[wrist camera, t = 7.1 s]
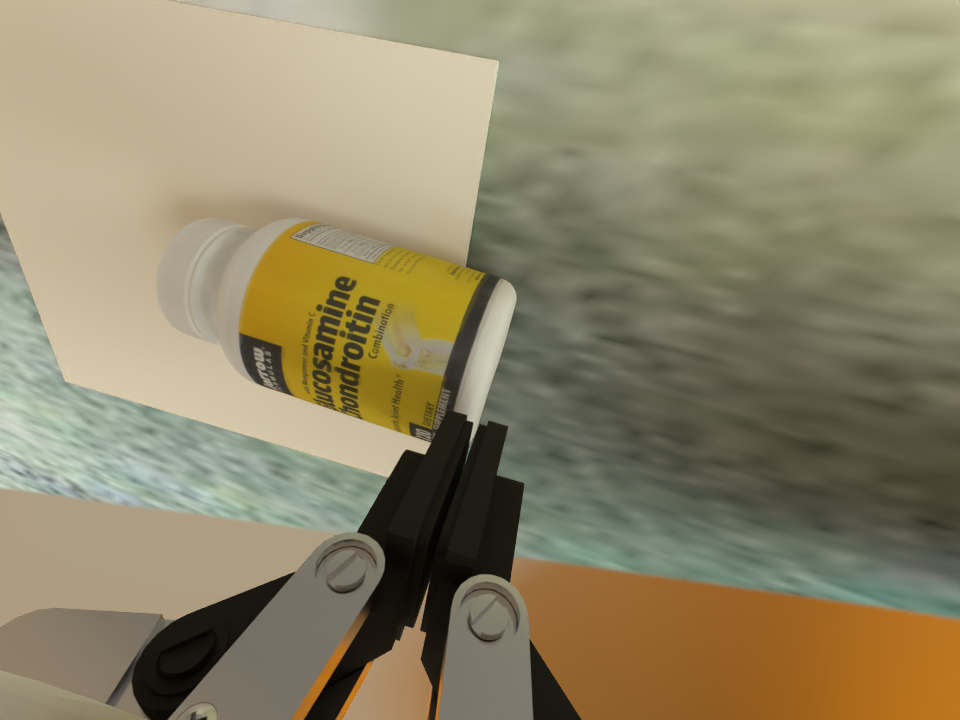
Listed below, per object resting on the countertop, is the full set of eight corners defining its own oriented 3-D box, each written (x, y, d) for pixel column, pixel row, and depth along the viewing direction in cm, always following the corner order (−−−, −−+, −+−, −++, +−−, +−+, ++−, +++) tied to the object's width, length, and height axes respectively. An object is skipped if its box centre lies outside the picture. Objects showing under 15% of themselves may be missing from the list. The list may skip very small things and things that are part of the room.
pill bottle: (459, 487, 15) (175, 392, 15) (498, 368, 19) (278, 299, 20) (491, 369, 10) (84, 242, 11) (533, 249, 15) (244, 166, 15)
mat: (499, 63, 13) (496, 60, 13) (430, 484, 23) (428, 489, 23) (-86, -44, 16) (-101, -49, 15) (72, 378, 25) (65, 381, 25)
